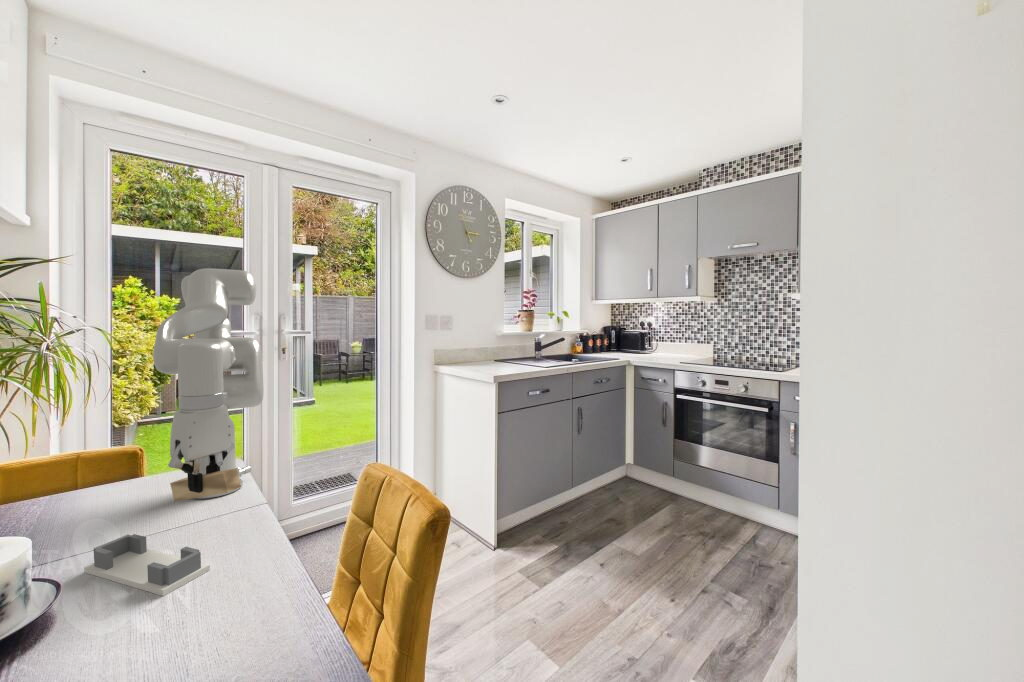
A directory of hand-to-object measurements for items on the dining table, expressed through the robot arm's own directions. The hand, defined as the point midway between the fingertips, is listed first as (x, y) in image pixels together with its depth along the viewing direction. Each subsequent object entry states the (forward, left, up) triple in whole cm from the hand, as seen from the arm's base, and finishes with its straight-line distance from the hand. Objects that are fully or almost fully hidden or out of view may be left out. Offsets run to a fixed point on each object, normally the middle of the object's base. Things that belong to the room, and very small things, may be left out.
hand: (204, 487), depth 90 cm
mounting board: (+11, 0, -12) cm, 16 cm away
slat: (0, +1, -1) cm, 2 cm away
